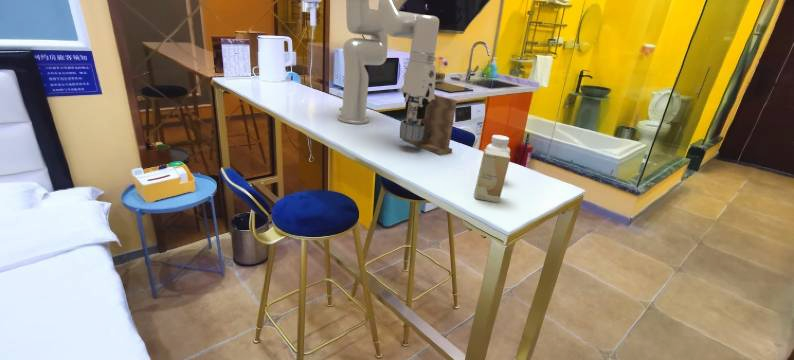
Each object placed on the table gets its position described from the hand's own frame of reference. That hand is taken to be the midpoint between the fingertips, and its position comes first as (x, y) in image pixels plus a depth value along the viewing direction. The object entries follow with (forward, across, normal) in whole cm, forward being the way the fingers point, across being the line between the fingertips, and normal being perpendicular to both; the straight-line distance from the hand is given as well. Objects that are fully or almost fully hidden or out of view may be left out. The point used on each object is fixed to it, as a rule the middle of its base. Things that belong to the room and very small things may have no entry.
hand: (414, 116), depth 125 cm
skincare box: (+12, -38, +9) cm, 41 cm away
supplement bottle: (+12, -31, -3) cm, 33 cm away
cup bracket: (+11, 0, -3) cm, 12 cm away
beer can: (+5, 0, 0) cm, 5 cm away
